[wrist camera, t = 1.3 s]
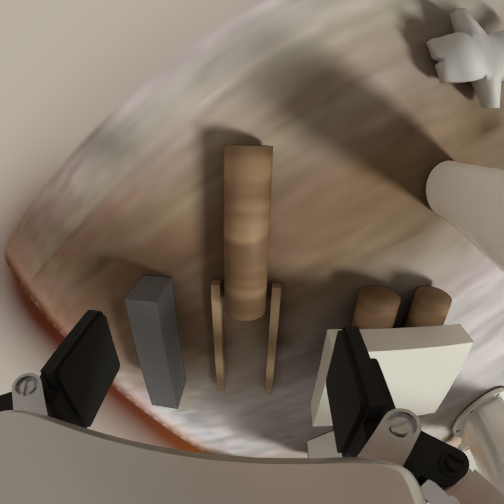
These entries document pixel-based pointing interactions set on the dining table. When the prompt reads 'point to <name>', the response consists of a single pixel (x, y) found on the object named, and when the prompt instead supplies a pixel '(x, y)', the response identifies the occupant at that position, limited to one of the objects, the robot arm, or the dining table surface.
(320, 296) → the dining table surface
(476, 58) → the bunny figurine
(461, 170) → the white cup
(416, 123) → the dining table surface
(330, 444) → the medicine bottle
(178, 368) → the grey rectangular bar
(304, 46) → the dining table surface
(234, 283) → the roller
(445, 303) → the track
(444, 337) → the slab
